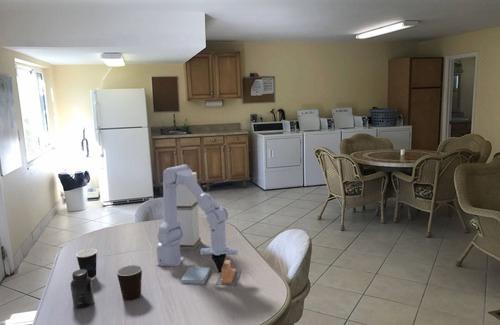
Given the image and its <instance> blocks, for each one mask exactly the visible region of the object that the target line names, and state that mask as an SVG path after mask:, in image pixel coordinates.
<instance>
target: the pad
mask: <svg viewBox="0 0 500 325" xmlns="http://www.w3.org/2000/svg"><path fill="white" fill-rule="evenodd" d="M241 273H242V270H236V272H235V275H234V278H233V280H232V283H221V279H222V272H221V273H219V276H218V277H217V279H216V282H215V285H216V286H217V285H218V286H237V284H238V281H239V278H240V276H241Z"/></svg>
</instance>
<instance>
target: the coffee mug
mask: <svg viewBox="0 0 500 325" xmlns="http://www.w3.org/2000/svg"><path fill="white" fill-rule="evenodd" d="M142 274H143V268H142V266H141V265H137V264H132V265H131V264H130V265H127V266H123V267H121V268H119V269H118V270H117V271H116V275H117V280H118V284H119V288H120V293H121V297H122V300H124V301H128V302H129V301H135V300H137V299H139V298H140V297H141V296H142V281H143V280H142V276H143V275H142Z"/></svg>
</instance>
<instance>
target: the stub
mask: <svg viewBox="0 0 500 325" xmlns="http://www.w3.org/2000/svg"><path fill="white" fill-rule="evenodd" d="M221 270H222V279H221V283H232V280H233V278H234V275H235V272H236V271H237V270H236V268H232V265H231V259H225V260H224V263H223V267H222V269H221Z"/></svg>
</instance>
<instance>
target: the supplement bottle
mask: <svg viewBox="0 0 500 325" xmlns="http://www.w3.org/2000/svg"><path fill="white" fill-rule="evenodd" d="M71 276H72V280H71V281H70V291H71V299H72V300H71V301H72V305H73V308H76V309H77V310H80V309H85V308H88V307H90V306H92V305H93V304H94V302H95V298H94V290H93V289H94V288H93V280H91V278H90V277H88V274H87V270H85V269H81V270H80V269H77V270H74V271H73V272H72V275H71Z"/></svg>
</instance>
